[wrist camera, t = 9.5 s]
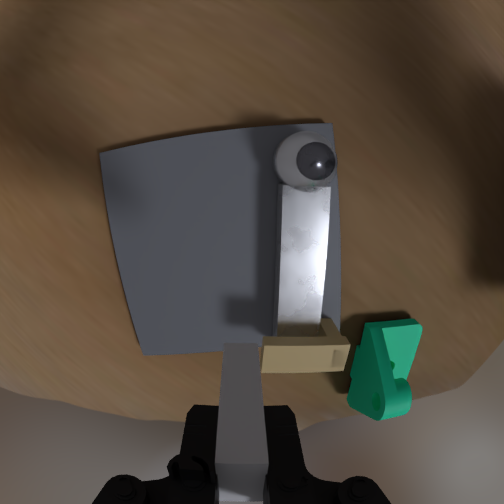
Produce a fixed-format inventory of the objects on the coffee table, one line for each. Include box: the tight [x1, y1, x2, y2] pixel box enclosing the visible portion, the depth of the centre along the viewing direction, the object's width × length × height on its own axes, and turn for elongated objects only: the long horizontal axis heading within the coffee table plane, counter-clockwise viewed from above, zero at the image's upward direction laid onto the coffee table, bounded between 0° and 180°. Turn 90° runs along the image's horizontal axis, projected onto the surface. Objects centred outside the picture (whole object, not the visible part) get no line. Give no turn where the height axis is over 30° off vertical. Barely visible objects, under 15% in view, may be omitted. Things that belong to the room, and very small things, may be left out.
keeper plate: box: [100, 123, 351, 373], centre depth 26 cm, size 22×22×8 cm
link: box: [272, 131, 337, 337], centre depth 26 cm, size 20×5×6 cm, turn 179°
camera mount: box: [347, 319, 423, 421], centre depth 30 cm, size 12×8×10 cm, turn 179°
